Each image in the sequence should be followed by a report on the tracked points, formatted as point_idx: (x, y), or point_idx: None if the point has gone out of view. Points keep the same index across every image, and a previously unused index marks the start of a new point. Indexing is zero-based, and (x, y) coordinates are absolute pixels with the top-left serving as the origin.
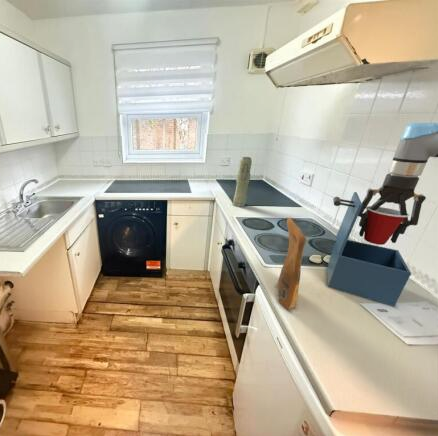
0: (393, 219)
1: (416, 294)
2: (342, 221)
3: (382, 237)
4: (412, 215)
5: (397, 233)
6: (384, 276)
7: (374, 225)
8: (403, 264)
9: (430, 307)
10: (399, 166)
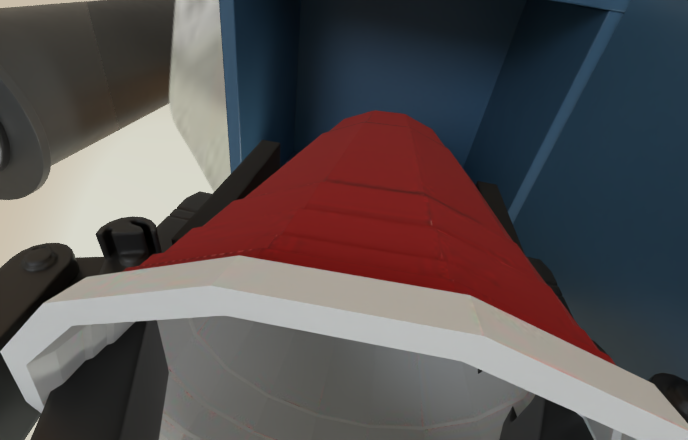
0: (290, 224)
1: (210, 96)
2: None
3: (367, 122)
4: (10, 395)
5: (238, 186)
6: None
7: (487, 206)
8: (236, 60)
9: (181, 19)
10: None
